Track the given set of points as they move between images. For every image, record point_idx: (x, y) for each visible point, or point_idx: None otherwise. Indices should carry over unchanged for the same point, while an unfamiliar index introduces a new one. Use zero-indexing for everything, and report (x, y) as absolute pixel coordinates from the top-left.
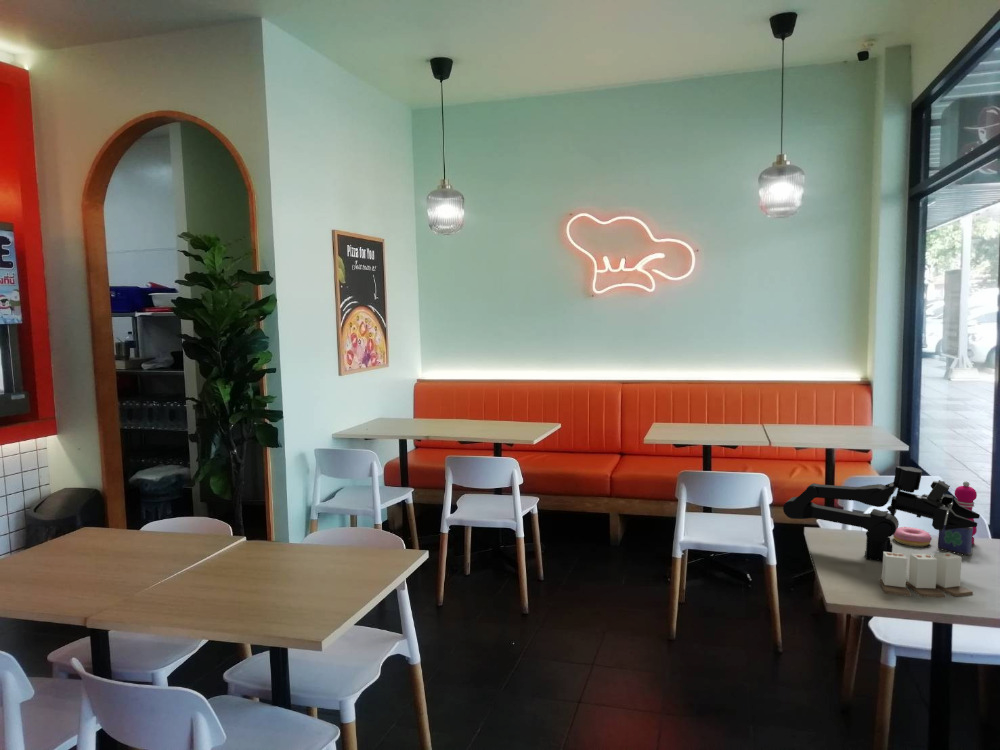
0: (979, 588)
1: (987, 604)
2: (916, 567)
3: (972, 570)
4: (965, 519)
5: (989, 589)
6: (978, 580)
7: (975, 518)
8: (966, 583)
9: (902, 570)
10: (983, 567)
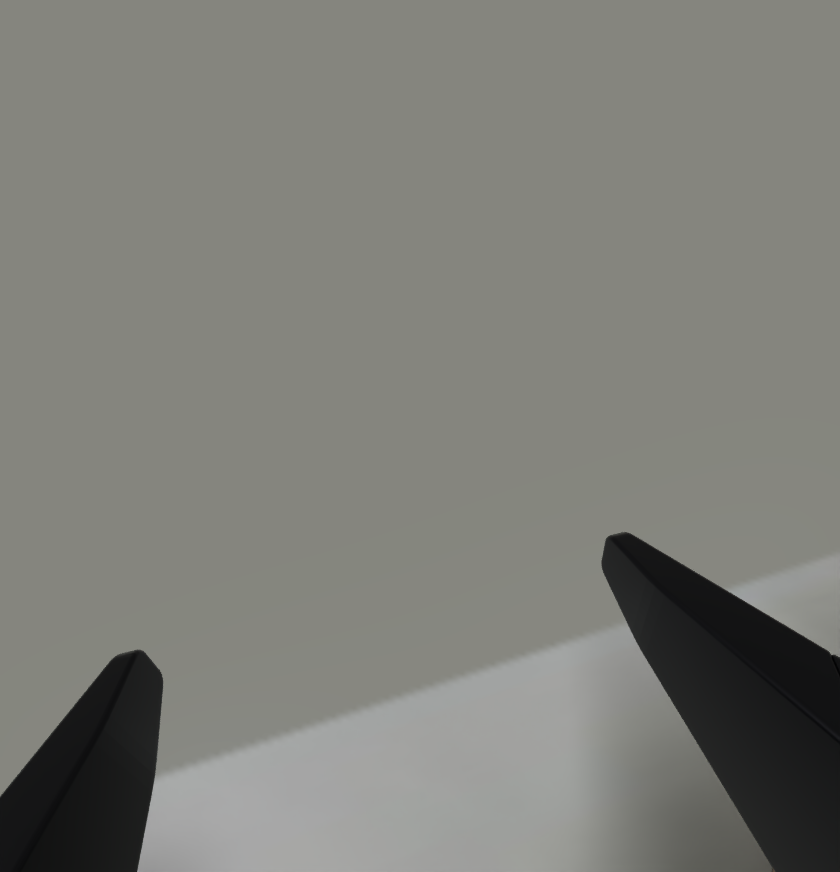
0: (629, 685)
1: (797, 584)
2: None
3: (330, 845)
4: (793, 633)
5: (590, 644)
6: (501, 738)
7: (158, 728)
8: (625, 774)
9: None
10: (217, 807)
